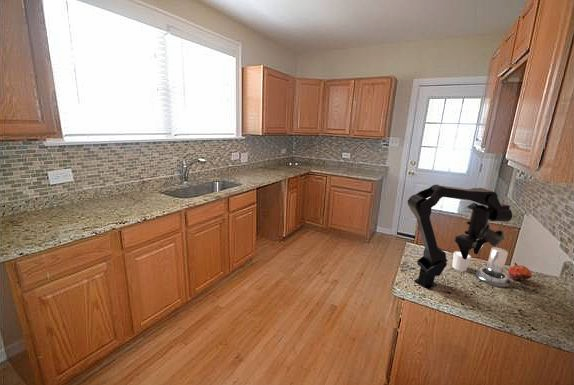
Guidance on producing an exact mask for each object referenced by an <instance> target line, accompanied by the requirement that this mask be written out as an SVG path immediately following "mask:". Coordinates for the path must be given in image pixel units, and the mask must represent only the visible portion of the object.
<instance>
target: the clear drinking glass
mask: <svg viewBox="0 0 574 385" xmlns="http://www.w3.org/2000/svg"><path fill="white" fill-rule="evenodd" d="M508 255H509V251H508V250H506V249H504V248H500V247H496V246H492V247H491V248H490V252H489V255H488V260H487V264H486V271H485V274H487V275H489V276H491V277H495V278H500V279H501V276H502V273H504V268H505V264H506V262H507V258H508Z"/></svg>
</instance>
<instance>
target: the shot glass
mask: <svg viewBox="0 0 574 385" xmlns="http://www.w3.org/2000/svg"><path fill="white" fill-rule="evenodd" d="M471 258H472V255H471V254H470V253H469V254H468V257H467V259H466V260H465V259H463V258H462V254H461V251H460V250H459V251H457V250H455V251H453V256H452V264H451V266H452V268H453V269H455V270H457V271H460V272H466V271H467V270H468V267H469V264H470V262H471V260H472V259H471Z"/></svg>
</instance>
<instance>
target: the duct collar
mask: <svg viewBox="0 0 574 385" xmlns="http://www.w3.org/2000/svg"><path fill="white" fill-rule="evenodd" d="M486 267H487V266H486ZM486 267H485V266H482V267H480V268H479V269H477V270H476V271H475V273H474V275H475V277H476V279H478V280H479V281H481V282H482V283H484V284H487V285H490V286H493V287H497V288H504V289H505V288H509V287H510V285H511V281H510V280H509V277H508V275H507V274H506V273H504V272H503V273H502V276H501V279H500V278H495V277H491V276H489V275H487V274H485V271H486Z"/></svg>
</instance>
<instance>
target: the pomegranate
mask: <svg viewBox="0 0 574 385" xmlns="http://www.w3.org/2000/svg"><path fill="white" fill-rule="evenodd" d="M513 264H514V265H513V266H511V267H509V270H508V273H507V274H508V276H509V277H510V278H511V279H512V280H519V281H521V282H522V285H523V286H525V284H524V281H526V280H528V279H531V278H532V277H533V276H532V275H533V274H532V272H531V270H530V269H529V268H528V267H526V266H525V265H521V264H520V265H518V264H517V263H516V262H514V263H513Z"/></svg>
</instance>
